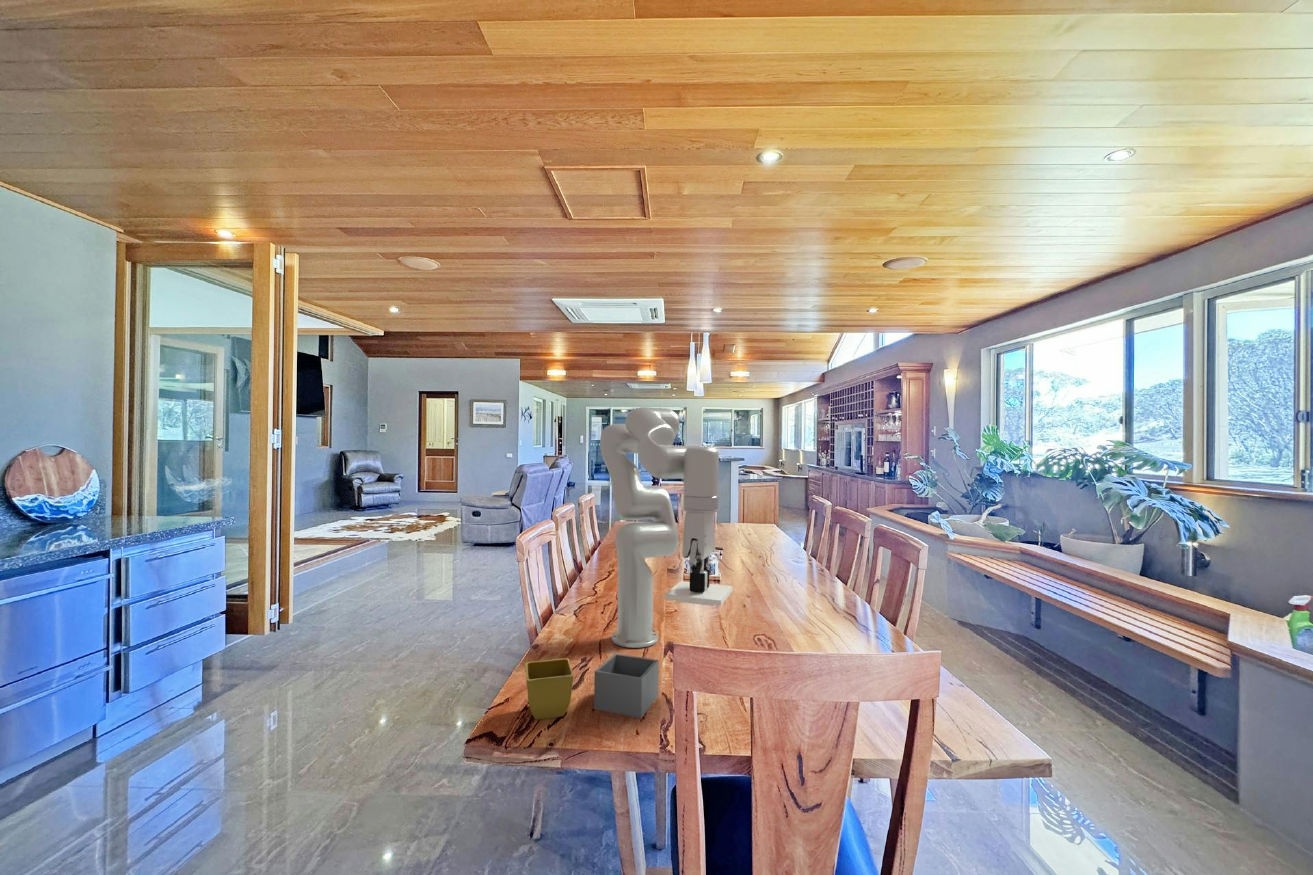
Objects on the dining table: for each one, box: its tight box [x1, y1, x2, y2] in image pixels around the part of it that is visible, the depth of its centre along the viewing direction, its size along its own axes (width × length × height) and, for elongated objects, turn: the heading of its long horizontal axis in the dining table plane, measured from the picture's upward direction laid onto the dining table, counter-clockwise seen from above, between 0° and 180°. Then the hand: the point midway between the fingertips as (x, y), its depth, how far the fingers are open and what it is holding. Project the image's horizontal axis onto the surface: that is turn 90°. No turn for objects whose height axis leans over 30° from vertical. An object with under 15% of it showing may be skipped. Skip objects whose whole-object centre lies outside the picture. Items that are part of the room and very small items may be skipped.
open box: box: [593, 653, 660, 719], centre depth 112 cm, size 10×10×8 cm
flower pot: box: [524, 657, 574, 720], centre depth 108 cm, size 9×9×9 cm
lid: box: [664, 570, 734, 607], centre depth 118 cm, size 12×12×6 cm
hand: (699, 588), depth 118 cm, fingers closed on lid, 3 cm apart
